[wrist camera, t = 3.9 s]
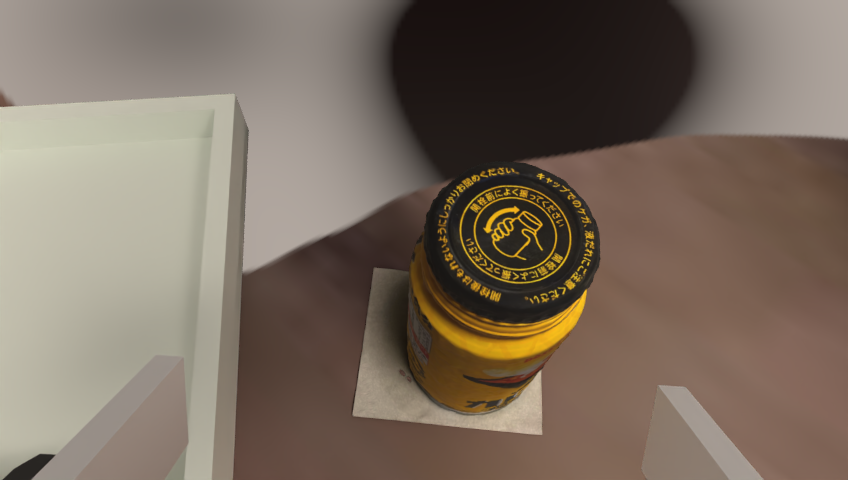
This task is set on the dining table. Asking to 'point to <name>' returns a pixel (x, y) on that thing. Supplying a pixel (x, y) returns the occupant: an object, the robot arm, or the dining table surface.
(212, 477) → the tray
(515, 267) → the condiment
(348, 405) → the dining table surface
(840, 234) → the dining table surface
